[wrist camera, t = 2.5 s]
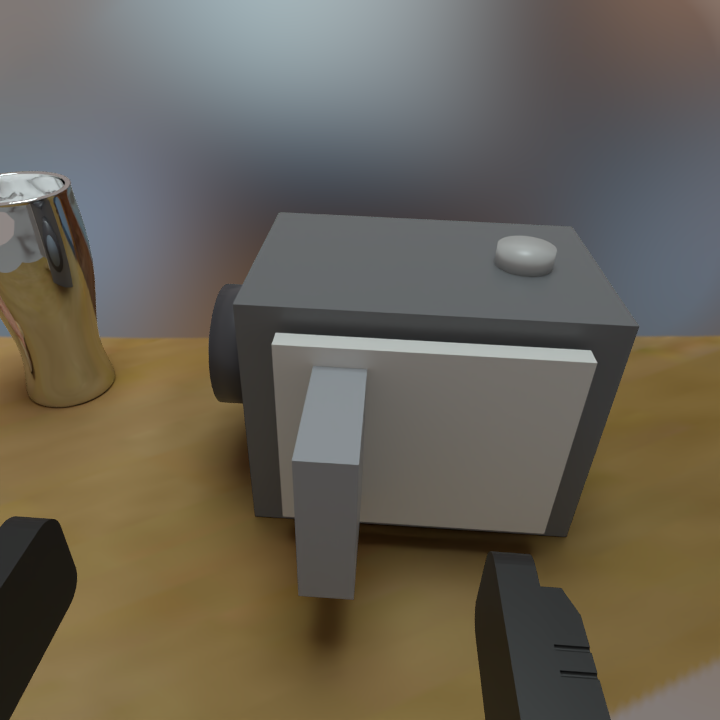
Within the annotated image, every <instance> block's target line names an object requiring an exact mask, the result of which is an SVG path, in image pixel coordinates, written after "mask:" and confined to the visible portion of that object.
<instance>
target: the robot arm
mask: <svg viewBox="0 0 720 720" xmlns="http://www.w3.org/2000/svg"><path fill="white" fill-rule="evenodd" d="M76 584H77V571H76V567H75V564H74V562H73V559H72V556H71V553H70V551H69V548H68V545H67V542H66V539H65V537H64V534H63V531H62V528H61V526H60V524H59V522H58V521H57V520H55V519H45V518H31V517H17V516H15V517H11V518H9V519H8V520H6V521H5V522H4V523H3V524H2V526H1V527H0V720H9V719H10V717H11V715H12V714H13V712H14V710H15V708H16V706H17V704H18V702H19V700H20V698H21V697H22V695H23V693H24V691H25V689H26V687H27V685H28V683H29V681H30V680H31V678H32V676H33V674H34V672H35V670H36V668H37V666H38V665H39V663H40V661H41V659H42V657H43V655H44V653H45V651H46V649H47V648H48V646H49V644H50V642H51V640H52V638H53V636H54V634H55V632H56V631H57V629H58V627H59V625H60V623H61V621H62V619H63V617H64V615H65V614H66V612H67V610H68V608H69V606H70V604H71V602H72V599H73V597H74V593H75V590H76ZM475 635H476V644H477V652H478V661H479V669H480V678H481V686H482V695H483V703H484V712H485V720H611V719H610V716H609V712H608V709H607V705H606V702H605V698H604V695H603V691H602V688H601V684H600V681H599V680H598V679H597V670H596V667H595V663H594V660H593V656H592V653H590V650H589V648H590V646H589V643H588V639H587V636H586V632H585V629H584V625H583V622H582V618H581V615H580V614H579V613H578V611H577V610H576V608H575V607H574V605H573V604H572V603H571V601H570V600H569V598H568V597H567V596H566V594H565V593H564V591H563V590H562V588H553V587H540V584H539V579H538V575H537V571H536V567H535V563H534V560H533V558H532V556H531V555H530V554H519V553H505V552H491V551H490V552H489V553H488V555H487V558H486V562H485V566H484V570H483V574H482V578H481V583H480V587H479V591H478V595H477V599H476V606H475Z"/></svg>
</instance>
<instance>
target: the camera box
mask: <svg viewBox="0 0 720 720" xmlns="http://www.w3.org/2000/svg"><path fill="white" fill-rule="evenodd" d="M638 328H639V325H638V324H637V322H636V321H635V319H634V318H633V317H632V315H631V313H630V312H629V311H628V309H627V308H626V306H625V305H624V303H623V302H622V300H621V299H620V297H619V296H618V294H617V293H616V291H615V290H614V288H613V287H612V285H611V284H610V282H609V281H608V279H607V278H606V276H605V275H604V273H603V272H602V270H601V269H600V267H599V266H598V265H597V263H596V261H595V260H594V259H593V257H592V256H591V254H590V253H589V251H588V250H587V248H586V247H585V245H584V244H583V242H582V241H581V239H580V238H579V236H578V235H577V234H576V232H575V230H574V229H573V227H566V226H546V225H527V224H506V223H486V222H465V221H446V220H424V219H404V218H384V217H364V216H343V215H323V214H303V213H281V212H280V213H279V214H278V216H277V218H276V220H275V222H274V224H273V226H272V228H271V230H270V232H269V234H268V236H267V238H266V240H265V241H264V243H263V245H262V247H261V249H260V251H259V253H258V255H257V257H256V259H255V261H254V264H253V265H252V267H251V269H250V271H249V273H248V275H247V277H246V279H245V281H244V283H243V285H237V284H226V285H224V286H223V287H222V289H221V290H220V292H219V294H218V296H217V299H216V303H215V306H214V310H213V314H212V320H211V327H210V335H209V370H210V379H211V384H212V388H213V392H214V394H215V396H216V398H217V400H218V401H220V402H227V403H243V407H244V417H245V426H246V435H247V445H248V454H249V464H250V473H251V483H252V492H253V501H254V511H255V516H261V517H276V518H291V519H295V517H283V511H282V496H281V481H280V466H279V451H278V436H277V421H276V406H275V390H274V375H273V360H272V345H271V344H272V342H273V339H274V336H275V333H290V334H308V335H326V336H344V337H362V338H379V339H397V340H415V341H433V342H451V343H469V344H487V345H504V346H522V347H540V348H558V349H576V350H591V351H592V353H593V355H594V357H595V359H596V361H597V366H596V369H595V373H594V376H593V379H592V382H591V385H590V389H589V392H588V395H587V398H586V401H585V405H584V408H583V411H582V414H581V417H580V421H579V424H578V427H577V430H576V433H575V437H574V440H573V443H572V446H571V449H570V453H569V456H568V459H567V462H566V465H565V469H564V472H563V475H562V478H561V481H560V485H559V488H558V491H557V494H556V497H555V501H554V504H553V507H552V510H551V513H550V517H549V520H548V523H547V526H546V529H545V533H544V534H539V533H524V532H509V531H494V530H479V529H464V528H449V527H434V526H419V525H404V524H389V523H374V522H360V523H366V524H381V525H397V526H412V527H427V528H442V529H457V530H472V531H487V532H502V533H517V534H532V535H547V536H562V537H566V536H567V533H568V531H569V528H570V525H571V522H572V519H573V516H574V513H575V510H576V507H577V505H578V502H579V499H580V496H581V493H582V490H583V487H584V484H585V481H586V479H587V476H588V473H589V470H590V467H591V464H592V461H593V458H594V455H595V453H596V450H597V447H598V444H599V441H600V438H601V435H602V432H603V430H604V427H605V424H606V421H607V418H608V415H609V412H610V409H611V406H612V404H613V401H614V398H615V395H616V392H617V389H618V386H619V383H620V380H621V378H622V375H623V372H624V369H625V366H626V363H627V360H628V357H629V354H630V352H631V349H632V346H633V343H634V340H635V337H636V334H637V331H638Z"/></svg>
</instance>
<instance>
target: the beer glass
mask: <svg viewBox="0 0 720 720" xmlns="http://www.w3.org/2000/svg"><path fill="white" fill-rule="evenodd" d="M0 318H1V320H2V321H3V323H4V325H5V326H6V328H7V329H8V331H9V332H10V334H11V336H12V338H13V339H14V341H15V343H16V345H17V347H18V349H19V352H20V354H21V357H22V361H23V365H24V371H25V381H26V388H27V393H28V395H29V397H30V398H31V399H32V400H33V401H34V402H35V403H37V404H40V405H43V406H48V407H68V406H74V405H78V404H82V403H85V402H87V401H90V400H92V399H94V398H96V397H98V396H100V395H101V394H102V393H104V392H105V391H106V390H107V389H108V388H109V387H110V386H111V385H112V383H113V381H114V379H115V371H114V368H113V366H112V364H111V362H110V360H109V358H108V356H107V354H106V352H105V350H104V347H103V345H102V343H101V339H100V336H99V331H98V326H97V313H96V292H95V275H94V266H93V259H92V254H91V249H90V245H89V240H88V236H87V233H86V229H85V226H84V223H83V219H82V216H81V213H80V210H79V207H78V205H77V202H76V199H75V196H74V193H73V190H72V187H71V182H70V180H69V179H68V178H67V177H65V176H63V175H60V174H56V173H50V172H39V171H22V172H10V173H1V174H0Z"/></svg>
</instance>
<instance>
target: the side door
mask: <svg viewBox="0 0 720 720" xmlns="http://www.w3.org/2000/svg"><path fill="white" fill-rule="evenodd" d="M271 345H272V360H273V375H274V390H275V406H276V421H277V436H278V451H279V466H280V481H281V496H282V511H283V517H295V535H296V555H297V575H298V595H299V596H309V597H323V598H337V599H351V600H354V589H355V576H356V563H357V550H358V536H359V523H360V522H374V523H389V524H404V525H419V526H434V527H449V528H464V529H479V530H494V531H509V532H524V533H539V534H544V533H545V529H546V526H547V523H548V520H549V517H550V513H551V510H552V507H553V504H554V501H555V497H556V494H557V491H558V488H559V485H560V481H561V478H562V475H563V472H564V469H565V465H566V462H567V459H568V456H569V453H570V449H571V446H572V443H573V440H574V437H575V433H576V430H577V427H578V424H579V421H580V417H581V414H582V411H583V408H584V405H585V401H586V398H587V395H588V392H589V389H590V385H591V382H592V379H593V376H594V373H595V369H596V366H597V361H596V359H595V357H594V355H593V353H592V351H591V350H576V349H558V348H540V347H522V346H504V345H487V344H469V343H451V342H433V341H415V340H397V339H379V338H362V337H344V336H326V335H308V334H290V333H275V336H274V339H273V342H272V344H271Z"/></svg>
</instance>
